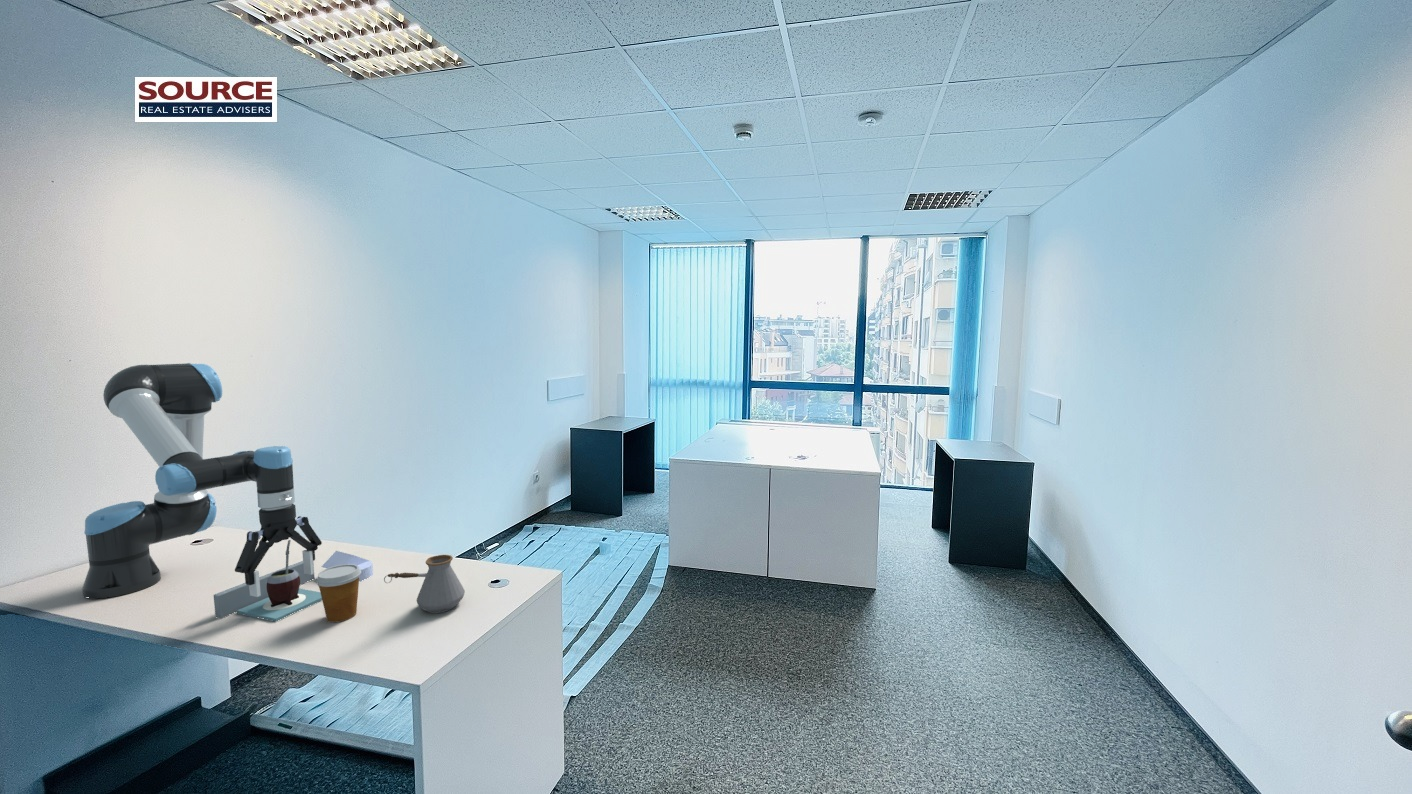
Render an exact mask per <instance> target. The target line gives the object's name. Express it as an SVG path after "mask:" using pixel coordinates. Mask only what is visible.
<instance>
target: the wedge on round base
mask: <svg viewBox="0 0 1412 794" xmlns="http://www.w3.org/2000/svg"><path fill="white" fill-rule="evenodd" d="M344 564H355V565H358V566H359V569H360V570H361V574H360V577H359V581H360V582H363V581H365V580H364V579H366V580H368V579H370V578H371V577H373V575H374V568H373V561H371V560H370V559H369V560H368V559H366V558H363V557H360V556H357V555H354V554H351V553H347V552H343V551H339V550H335V552H333V554H332V555H331V556H330V557H329V558H328V559H327V560H326V561H325V562H324V563H323V564H322V566H321V568H323V569H327V568H330V567H333V566H338V565H344ZM370 576H371V577H370ZM369 577H370V578H369ZM367 578H368V579H367ZM362 580H363V581H362Z"/></svg>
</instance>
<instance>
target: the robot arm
mask: <svg viewBox="0 0 1412 794" xmlns="http://www.w3.org/2000/svg"><path fill="white" fill-rule="evenodd" d="M102 395H103V396H102V397H103V402H104V404H105V406H106V408H107V409H108V410H109V412H110V413H111V414H112V415H113V416H115V417H116V418H120V419H122V420H123V421H124V422H125V424H126V425H127V427H128V428H129V429H130V431H131V432H132V433H133V435H135V437H136V439H137V440H138V441H139V443H140V444H141V445H142V446H143V447H144V449H145V450H146V452H147V453H148V455H150V456H151V458H152V459H153V460H154V462H155V463H156V464H157V465H158V468H157V469H156V471H155V475H154V476H155V477H154V478H155V484H156V486H157V490H158V491H157V492H156V493H155V494H154V497H153V502H152V503H149V504H148V503H147V504H146V503H144V502H143V501H141V500H135V501H134V500H133V501H127V502H121V503H117V504H112V505H109V506H105V507H103V508H100V509H97V510H96V511H93V512H91V513H90V514H89V515H88V516H86V518H85V520H84V535H85V539H86V548H87V556H88V564H89V567H88V571H87V574H86V576H85V579H84V582H83V585H82V587H81V590H82V597H83V596H84V597H83V598H85V597H89V598H100V599H107V597H109V598H114V597H119V596H124V595H127V594H131V593H136V592H139V591H141V590H144V589H147V588H150V587H151V586H154V585H155V584H157V583H159V582H160V581H161V579H162V576H161V571H160V568H159V567H158V565H157V564H156V562H155V561H154V559H153V557H152V556H151V553H150V545H152V544H156V543H157V544H158V543H160V542H161V543H162V542H166V541H168V540H173V539H178V538H181V537H184V536H191V535H195V534H197V533H201V532H203V531H206V530H208V528H210V527H212V525H213V524H214V522H215V519H216V517H217V511H218V510H217V505H216V499H215V498H214V496H213V495H212V494H210V493H209V492H208V490H209V489H214V488H218V487H219V488H220V487H225V486H230V485H236V484H240V483H246V482H255V483H256V493H257V494H256V495H257V507H258V508H259V510H258V518H259V519H258V520H259V523H260V526H261V527H260V530H256V531H247V533H246V542H245V544H244V545H243V546H244V547H243V549H242V550H241V553H240V556H239V558H238V561H237V563H236V566H235V568H234V572H235V573H240V574H244V580H245V581H244V583H246V585H249V590H250V596H255V597H259V596H261V592H260V580H259V577H260V572H259V570H257V568H258V567H259V565H260V563H261V562H262V560H263V559H264V557H265V556H266V555H267V552H268V551H269V549H270V548H272V547H273V545H274V544H278V543H280V542H282V541H288V540H293V541H294V542H295V543H297V544H298V545H300V546H301V547H302V548H304V549H303V550H302V551H301V552H302V553H301V554H302V561H303V567H304V574H309V575H312V574H314V575H315V567H314V568H313V563H314V562H315V560H316V551H317V550H318V548H319V547H318V546H321V545H322V544H323V542H322V540H321V539H320V537H319V536H318V535H317V533H316V532H315V530H314V529H313V528H312V526H311V525H310V522H309V518H308V516H302V515H299V516H298V517H297V512H296V510H297V509H296V504H294V503H295V502H296V497H295V488H294V468H293V461H294V460H293V457H292V451H291V449H290V447H289V446H285V445H284V446H283V445H282V446H280V445H279V446H275V445H274V446H266V447H265V446H264V447H260V448H257V449H256V450H255V451H254V450H241V451H237V452H234V453H233V454H231V455H230V454H229V455H225V456H219V457H218V456H217V457H210V458H203V453H204V449H203V448H204V431H205V415H206V414H208V413H210V412H211V411H212V406H213V405H212V403H218V401H220V400H221V399H222V396H223V386H222V382H221V379H220V377H219V375H218V374H217V372H216V370H215V369H214V368H213V367H212V366H210V365H208V364H205V363H191V362H187V363H166V364H163V363H162V364H137V365H133V366H129V367H126V368H124V369H122V370H120V371H118V372H116V373H115V374H114V375H112V376H111V378H110V379H109V380H108V381H107V383H106V385H105V386H104V389H103V394H102ZM296 517H297V518H296ZM297 526H298V527H299V528H300V530H301V531H302V533H303V535H304V536H305V537H306V538H305V537H304V536H302V535H301V534H300V533H299V532H298V531H297V530H295V529H296V528H297ZM259 540H260V541H259Z"/></svg>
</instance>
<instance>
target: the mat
mask: <svg viewBox="0 0 1412 794" xmlns="http://www.w3.org/2000/svg"><path fill="white" fill-rule="evenodd" d="M298 596H299V598H297V599H294V600H291V602H292V605H287V604H285V603H283V604H280V605H277V606H274V607H271V605H272V603H271V601H270V599H269V597H268V598H266V599H263V600H261V601H258V602H256V603H254V604H251V605H249V606H247V607H244V608H242V609H239V610H237V612H236V613H239V614H238V615H242V614H244V615H243V616H246V615H248V616H247V617H251V616H253V618H256V617H259V618H258V619H261V618H264V619H263V620H265V619H268V620H267V621H270V620H273V621H272V622H275V621H277V622H279V621H281V620H283V619H285V618H284V617H286V616H288V615H290V614H292V613H294V612H296V613H298V612H300V611H299V610H301V609H303V610H305V609H307V608H309V607H311V606H314V605H315V603H316V604H318V603H320V602H322V601H321V600H322V597H321V592H320V591H316V590H309V589H305V588H300V587H299V591H298ZM317 602H318V603H317ZM310 605H311V606H310ZM308 606H309V607H308ZM306 607H307V608H306ZM304 608H305V609H304ZM297 611H298V612H297ZM301 611H302V610H301ZM294 614H295V613H294ZM292 615H293V614H292ZM290 616H291V615H290ZM288 617H289V616H288ZM282 618H283V619H282ZM286 618H287V617H286ZM280 619H281V620H280ZM278 620H279V621H278Z"/></svg>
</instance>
